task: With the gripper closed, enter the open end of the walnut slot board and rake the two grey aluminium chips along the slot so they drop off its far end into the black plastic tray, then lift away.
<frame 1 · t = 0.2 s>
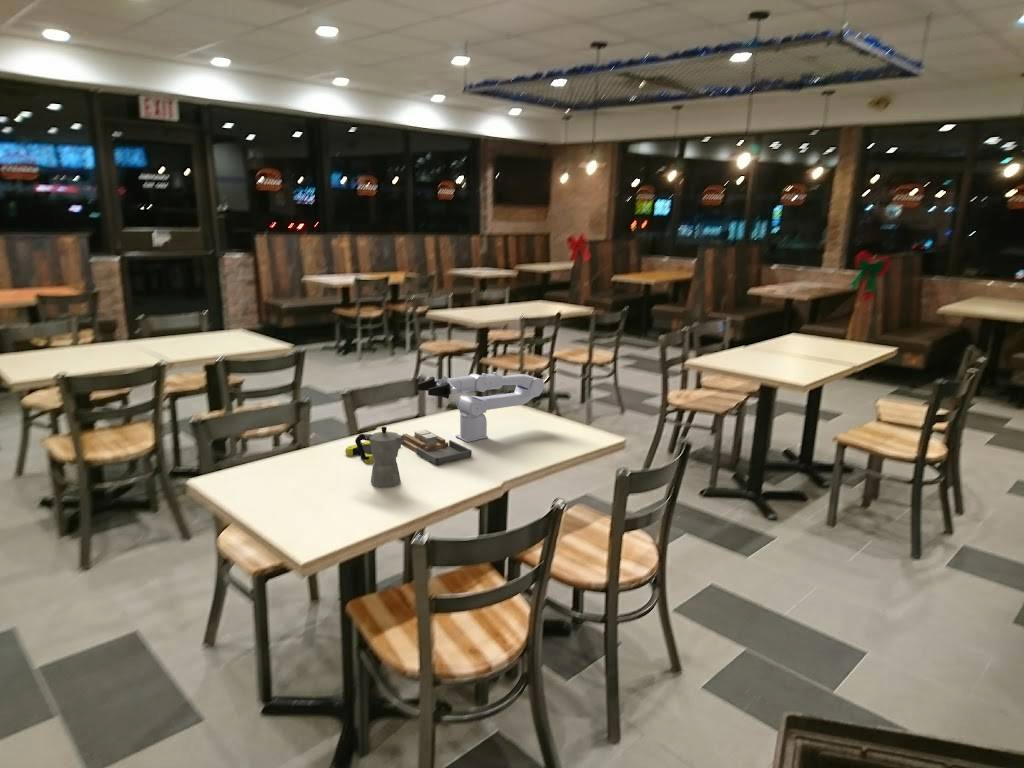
hand: (423, 389, 231), 21 cm above the table, tool horizontal, fingers open, 7 cm apart
stun gun: (378, 454, 231), on the table
tray: (443, 455, 229), on the table
chip front: (429, 443, 236), point 1 cm above the table, touching slot board
slot board: (423, 444, 239), on the table
coffeepot: (382, 483, 205), on the table
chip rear: (422, 440, 240), point 1 cm above the table, touching slot board
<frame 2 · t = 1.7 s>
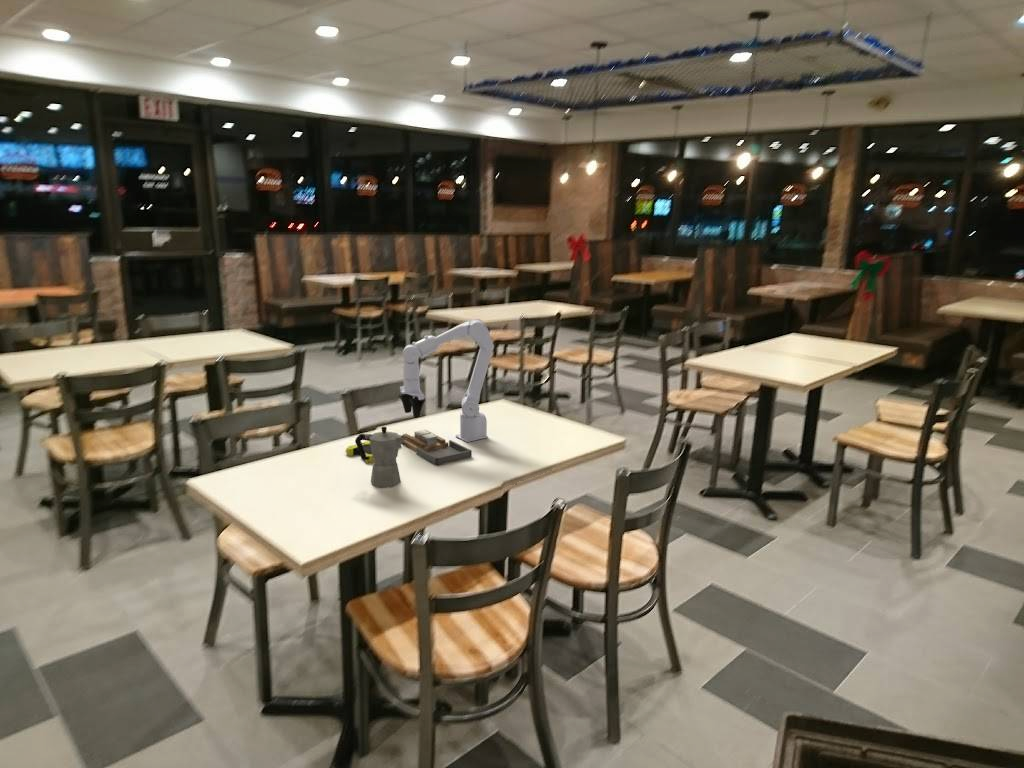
hand: (412, 414, 243), 9 cm above the table, tool pointing down, fingers open, 6 cm apart
nothing on the table moved.
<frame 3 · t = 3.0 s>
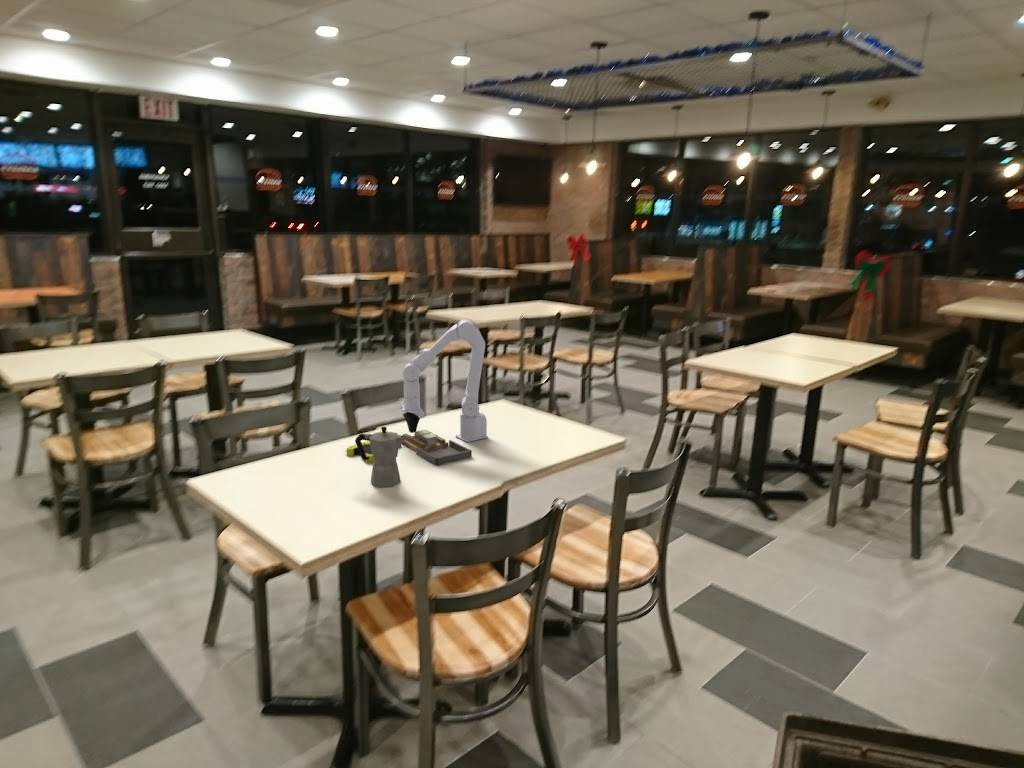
hand: (412, 431, 245), 3 cm above the table, tool pointing down, fingers closed
nothing on the table moved.
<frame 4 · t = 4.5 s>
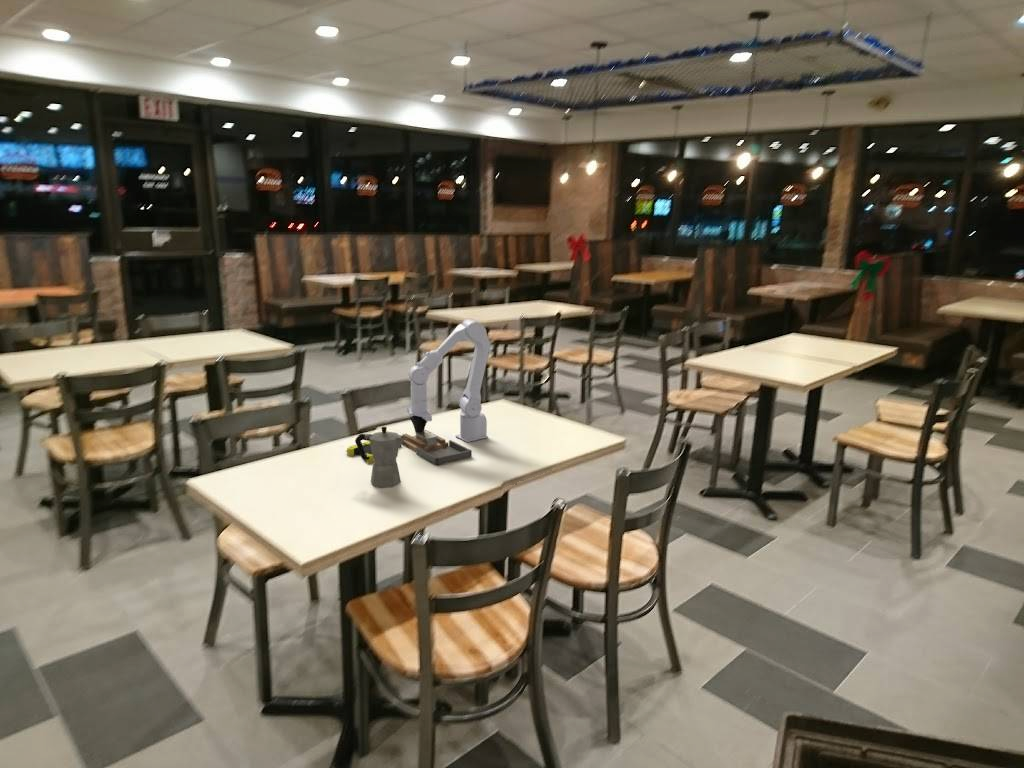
hand: (419, 435, 241), 3 cm above the table, tool pointing down, fingers closed
chip front: (429, 444, 236), point 2 cm above the table, touching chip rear, slot board
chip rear: (423, 441, 239), point 2 cm above the table, touching chip front, gripper
everything else where it was.
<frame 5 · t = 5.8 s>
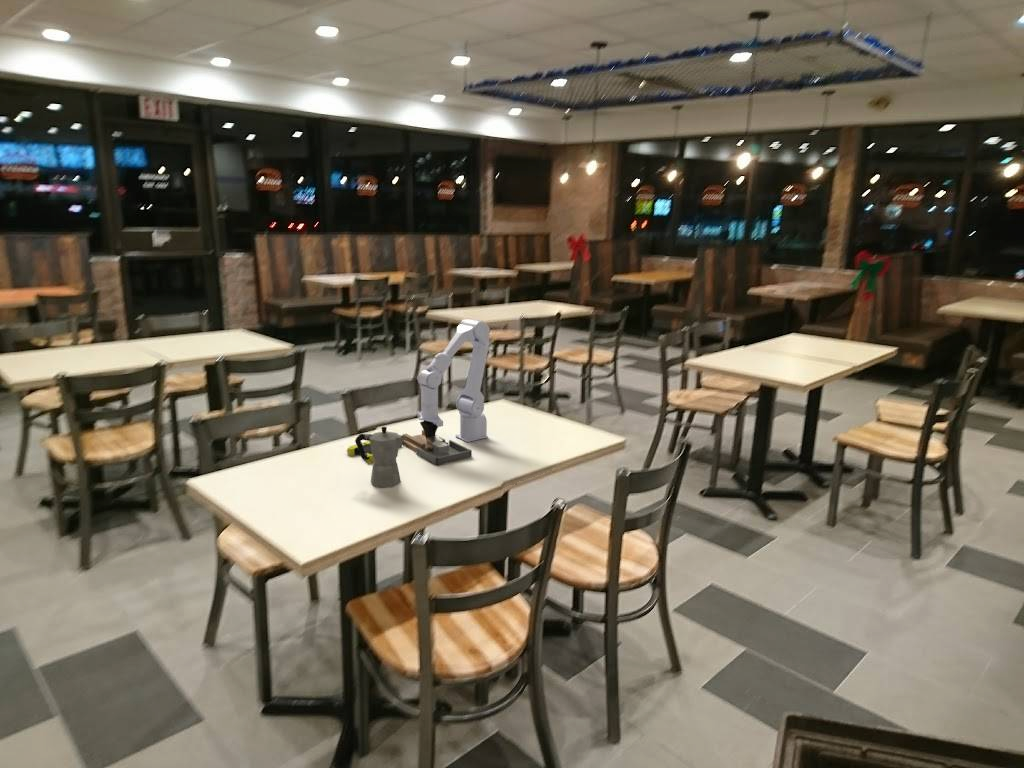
hand: (430, 441, 235), 3 cm above the table, tool pointing down, fingers closed
chip front: (440, 452, 230), resting on tray, touching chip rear
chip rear: (434, 446, 233), point 1 cm above the table, tilted 10°, touching chip front, gripper, slot board
everything else where it was.
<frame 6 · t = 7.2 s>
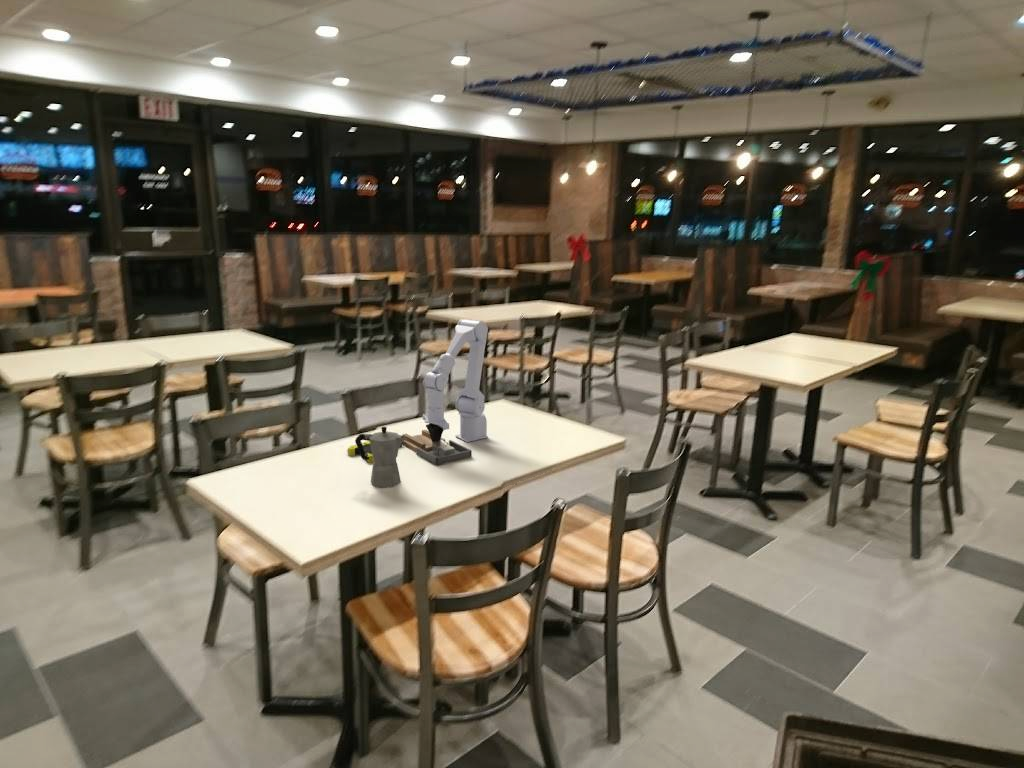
hand: (435, 444, 232), 3 cm above the table, tool pointing down, fingers closed
chip front: (446, 456, 227), resting on tray, touching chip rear
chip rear: (439, 451, 231), point 1 cm above the table, tilted 9°, touching chip front, gripper
everything else where it was.
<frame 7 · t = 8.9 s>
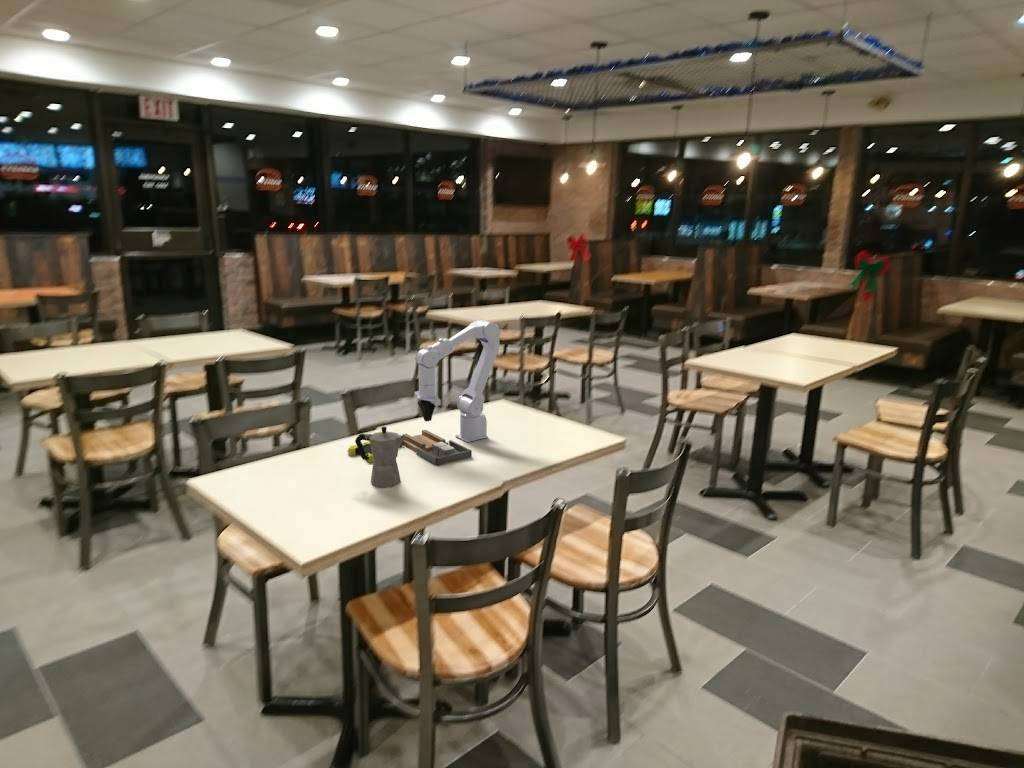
hand: (427, 420, 236), 9 cm above the table, tool pointing down, fingers closed
chip front: (446, 456, 227), resting on tray
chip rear: (439, 452, 231), resting on tray
everything else where it was.
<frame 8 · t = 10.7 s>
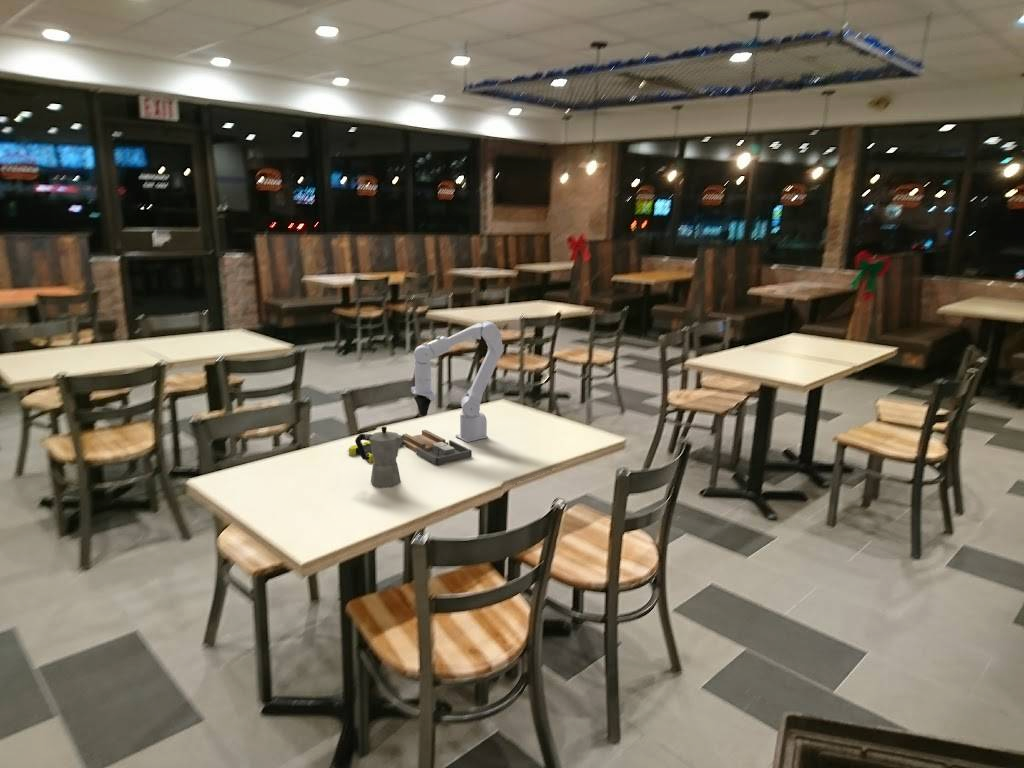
hand: (423, 415, 243), 9 cm above the table, tool pointing down, fingers closed
at the end: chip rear inside the target area (3.2 cm from its centre), resting on tray; chip front inside the target area (1.2 cm from its centre), resting on tray; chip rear touching tray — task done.
